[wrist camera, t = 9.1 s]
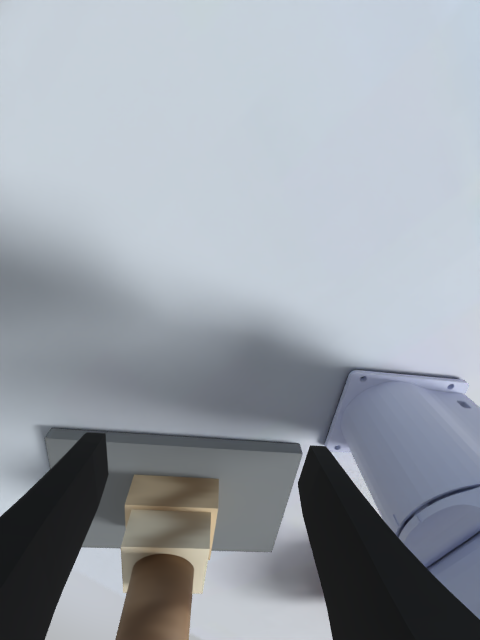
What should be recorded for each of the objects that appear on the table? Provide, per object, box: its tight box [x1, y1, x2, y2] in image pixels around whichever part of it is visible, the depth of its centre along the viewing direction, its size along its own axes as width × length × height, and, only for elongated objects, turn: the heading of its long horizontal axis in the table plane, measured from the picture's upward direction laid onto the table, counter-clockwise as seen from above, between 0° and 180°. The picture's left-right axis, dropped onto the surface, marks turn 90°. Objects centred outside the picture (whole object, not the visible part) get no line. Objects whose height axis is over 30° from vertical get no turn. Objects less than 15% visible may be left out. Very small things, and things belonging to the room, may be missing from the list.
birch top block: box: [121, 509, 211, 594], centre depth 22 cm, size 6×6×2 cm
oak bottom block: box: [125, 475, 219, 560], centre depth 25 cm, size 7×7×2 cm
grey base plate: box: [45, 428, 302, 552], centre depth 26 cm, size 20×14×1 cm
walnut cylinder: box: [116, 554, 194, 640], centre depth 19 cm, size 4×4×5 cm
